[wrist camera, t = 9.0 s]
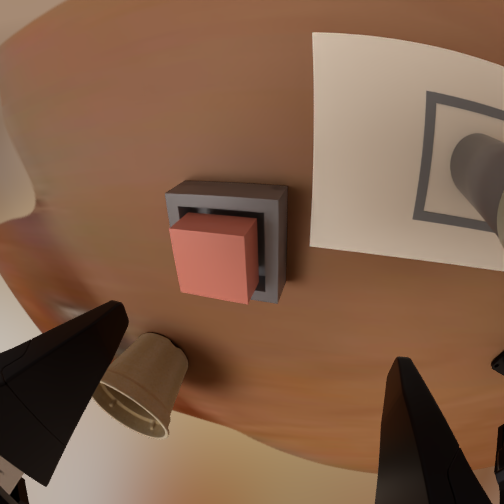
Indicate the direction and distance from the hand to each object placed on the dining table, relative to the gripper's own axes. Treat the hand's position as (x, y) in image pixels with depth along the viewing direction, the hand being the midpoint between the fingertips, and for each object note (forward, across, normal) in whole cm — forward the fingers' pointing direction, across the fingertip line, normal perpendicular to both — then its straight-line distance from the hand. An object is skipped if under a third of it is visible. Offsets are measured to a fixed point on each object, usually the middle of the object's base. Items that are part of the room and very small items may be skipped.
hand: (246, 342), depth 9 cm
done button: (+9, +4, +3) cm, 11 cm away
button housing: (+12, +4, +3) cm, 13 cm away
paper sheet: (+11, -10, -4) cm, 16 cm away
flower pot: (+12, +13, +18) cm, 26 cm away
